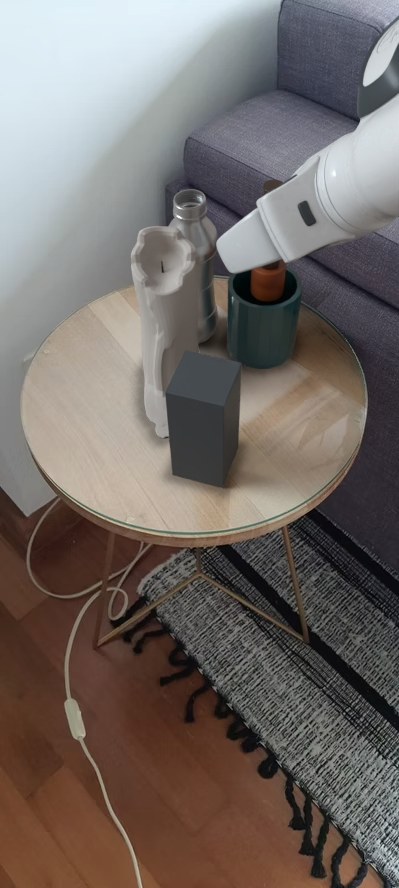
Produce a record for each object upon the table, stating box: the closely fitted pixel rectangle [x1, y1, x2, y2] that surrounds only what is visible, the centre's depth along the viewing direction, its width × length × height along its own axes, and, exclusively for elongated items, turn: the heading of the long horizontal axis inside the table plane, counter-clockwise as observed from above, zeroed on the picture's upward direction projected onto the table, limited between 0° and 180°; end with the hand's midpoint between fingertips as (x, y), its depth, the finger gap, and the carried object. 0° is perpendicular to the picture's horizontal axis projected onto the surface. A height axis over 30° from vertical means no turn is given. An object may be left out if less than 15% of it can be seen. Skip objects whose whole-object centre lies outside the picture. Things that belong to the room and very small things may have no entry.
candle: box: [130, 225, 200, 439], centre depth 77 cm, size 7×14×20 cm, turn 2°
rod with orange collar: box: [251, 179, 287, 301], centre depth 78 cm, size 4×4×14 cm
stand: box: [165, 350, 243, 489], centre depth 73 cm, size 6×6×14 cm
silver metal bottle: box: [168, 188, 220, 345], centre depth 83 cm, size 6×7×20 cm
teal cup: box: [226, 265, 303, 370], centre depth 86 cm, size 9×9×10 cm
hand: (267, 233), depth 77 cm, fingers closed on rod with orange collar, 2 cm apart
